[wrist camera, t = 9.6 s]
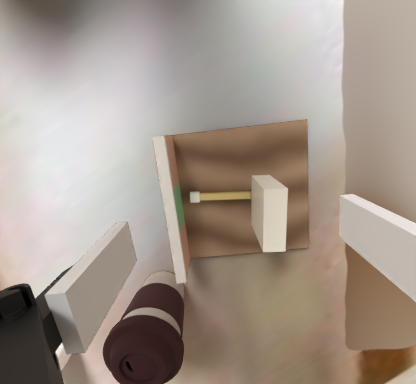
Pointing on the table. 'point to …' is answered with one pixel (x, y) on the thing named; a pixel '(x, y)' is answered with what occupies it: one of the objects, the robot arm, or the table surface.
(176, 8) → the table surface
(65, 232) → the table surface
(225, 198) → the white block with rod
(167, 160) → the scale wall
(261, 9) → the table surface
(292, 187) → the board
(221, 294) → the table surface
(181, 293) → the coffee cup
